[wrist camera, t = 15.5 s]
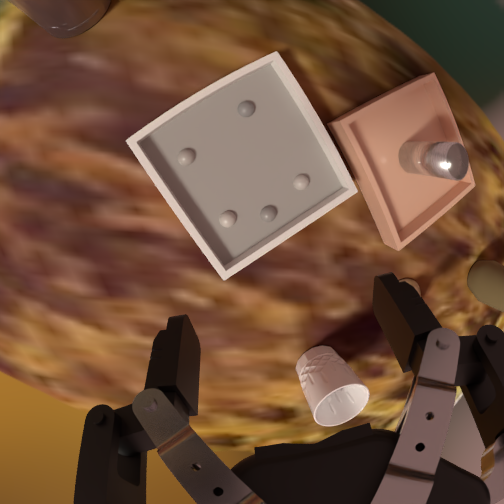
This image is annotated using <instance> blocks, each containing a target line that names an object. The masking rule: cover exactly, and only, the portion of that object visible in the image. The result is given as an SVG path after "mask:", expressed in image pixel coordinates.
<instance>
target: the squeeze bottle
mask: <svg viewBox="0 0 504 504" xmlns="http://www.w3.org/2000/svg"><path fill="white" fill-rule="evenodd" d="M467 283H468V287H469V289H470V290H471V291H472V293H473V294H474V295H475V297H476V298H477V299H478V301H480V302H482V303H484V304H487V305H489V306H491V307H493V308H495V309H498V310H500V311H502V312H504V266H503V265H501V264H500V263H498V262H496V261H495V260H480V261H477V262H476V263H475V264H474V265H473V266H472V268H471V270H470V272H469V275H468V280H467Z"/></svg>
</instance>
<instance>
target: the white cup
mask: <svg viewBox="0 0 504 504" xmlns="http://www.w3.org/2000/svg"><path fill="white" fill-rule="evenodd" d="M296 371H297V374H298V377H299V379H300V384H301V386H302V389H303V392H304V395H305V397H306V399H307V402H308V404H309V407H310V409H311V412H312V414H313V417H314V419H315V421H316V422H317V423H318V424H320V425H323V426H335V425H339V424H342V423H344V422H347V421H349V420H350V419H352V418H353V417H355V416H356V415H357V414H358V413H360V412H361V411H362V409H363V408H364V407H365V405H366V404H367V402H368V399H369V390H368V388H367V387H366V386H365V385H364V383H363V382H362V381H361V380H360V379H359V377H358V376H357V375H356V374H355V372H354V371H353V370H352V369H351V368H350V366H349V365H348V364H347V363H346V362H345V361H344V360H343V359H342V358H341V357H340V356H339V355H338V353H337V352H336V351H335V350H334V349H332V348H331V347H329V346H323V345H322V346H317V347H313V348H311V349H310V350H308V351H306V352H305V353H304V354H303V355H302V356H301V357H300V358H299V360H298V362H297V366H296Z"/></svg>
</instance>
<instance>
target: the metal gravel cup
mask: <svg viewBox="0 0 504 504" xmlns="http://www.w3.org/2000/svg"><path fill="white" fill-rule="evenodd" d="M398 159H399V163H400V166H401V167H402V169H403V170H404V171H405V172H407V173H411V174H419V175H425V176H432V177H438V178H445V179H450V180H456V181H459V180H462V179H463V178H464V177H465V176H466V174H467V171H468V166H469V159H468V154H467V151H466V149H465V148H464V146H463V145H462V144H461V143H459V142H440V141H407V142H405V143H403V144H402V146H401V147H400V149H399V154H398Z"/></svg>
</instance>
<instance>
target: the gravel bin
mask: <svg viewBox="0 0 504 504" xmlns="http://www.w3.org/2000/svg"><path fill="white" fill-rule="evenodd" d="M126 142H127V144H128V145H129V147H130V148H131V150H132V151H133V153H134V154H135V156H136V157H137V159H138V160H139V162H140V163H141V165H142V166H143V168H144V169H145V170H146V172H147V173H148V175H149V176H150V178H151V179H152V181H153V182H154V184H155V185H156V187H157V188H158V190H159V191H160V192H161V194H162V195H163V197H164V198H165V200H166V201H167V203H168V204H169V205H170V207H171V208H172V210H173V211H174V213H175V214H176V215H177V217H178V218H179V220H180V221H181V222H182V224H183V225H184V227H185V228H186V230H187V231H188V232H189V234H190V235H191V237H192V238H193V239H194V241H195V242H196V243H197V245H198V246H199V248H200V249H201V250H202V252H203V253H204V255H205V256H206V257H207V259H208V260H209V261H210V263H211V264H212V265H213V267H214V268H215V270H216V271H217V272H218V274H219V275H220V276H221V278H222V279H223V280H226V279H227V278H229V277H230V276H232V275H233V274H235V273H236V272H238V271H239V270H241V269H242V268H244V267H245V266H247V265H249V264H250V263H252V262H253V261H255V260H256V259H258V258H259V257H261V256H262V255H264V254H265V253H267V252H268V251H270V250H271V249H273V248H274V247H276V246H277V245H279V244H280V243H282V242H283V241H285V240H286V239H288V238H289V237H291V236H292V235H294V234H295V233H297V232H298V231H300V230H301V229H303V228H304V227H306V226H307V225H309V224H310V223H312V222H313V221H315V220H316V219H318V218H319V217H321V216H322V215H324V214H325V213H327V212H328V211H330V210H331V209H333V208H334V207H336V206H337V205H339V204H340V203H342V202H343V201H345V200H346V199H348V198H349V197H351V196H352V195H354V194H355V193H357V192H358V191H357V189H356V187H355V185H354V183H353V181H352V179H351V177H350V175H349V173H348V171H347V169H346V167H345V165H344V163H343V161H342V159H341V157H340V155H339V153H338V151H337V149H336V147H335V146H334V144H333V142H332V140H331V138H330V136H329V135H328V133H327V131H326V129H325V127H324V126H323V124H322V122H321V120H320V119H319V117H318V115H317V113H316V112H315V110H314V108H313V107H312V105H311V103H310V102H309V100H308V98H307V97H306V95H305V93H304V92H303V90H302V89H301V87H300V85H299V84H298V82H297V81H296V79H295V78H294V76H293V74H292V73H291V71H290V70H289V68H288V67H287V65H286V64H285V62H284V61H283V59H282V58H281V56H280V55H279V53H278V52H277V51H276V52H274V53H272V54H269V55H267V56H265V57H263V58H261V59H259V60H257V61H255V62H253V63H251V64H249V65H247V66H245V67H243V68H241V69H239V70H237V71H235V72H233V73H231V74H229V75H227V76H226V77H224V78H222V79H220V80H218V81H216V82H215V83H213V84H211V85H209V86H208V87H206V88H204V89H202V90H201V91H199V92H197V93H196V94H194V95H192V96H191V97H189V98H187V99H186V100H184V101H183V102H181V103H179V104H178V105H176V106H175V107H173V108H172V109H170V110H169V111H167V112H166V113H164V114H163V115H161V116H160V117H158V118H157V119H155V120H154V121H152V122H151V123H149V124H148V125H147V126H145V127H144V128H142V129H141V130H140V131H138V132H137V133H135V134H134V135H133V136H131V137H130V138H129V139H127V140H126Z"/></svg>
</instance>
